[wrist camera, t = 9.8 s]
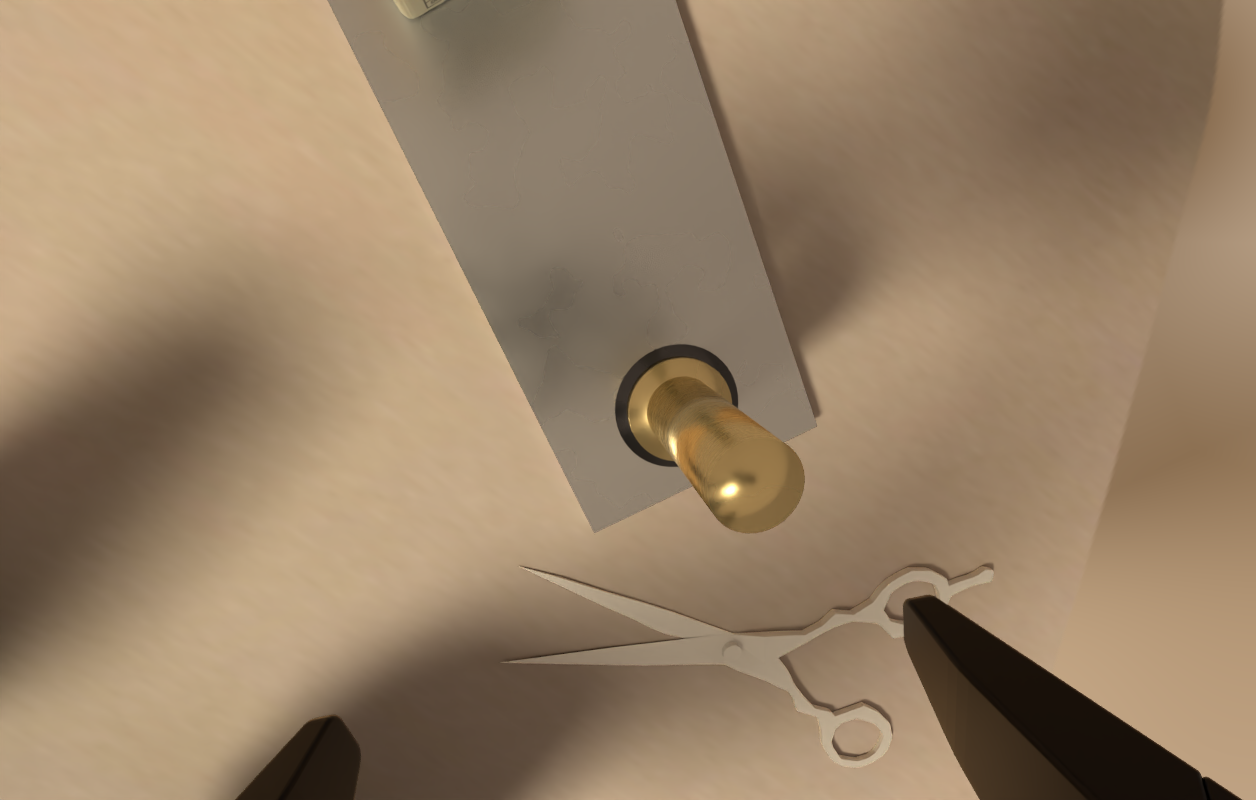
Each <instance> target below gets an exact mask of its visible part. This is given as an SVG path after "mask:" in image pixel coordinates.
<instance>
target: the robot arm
mask: <svg viewBox="0 0 1256 800" xmlns="http://www.w3.org/2000/svg"><path fill="white" fill-rule="evenodd" d="M903 625H904V641H905V645H906V648H907V651H908V654H909V656H910V658H911V660H912V663H913V665H914V667H915V669H916V671H917V674H918V676H919V678H920V680H921V683H922V685H923V687H924V689H925V691H926V694H927V696H928V698H929V700H930V703H931V705H932V707H933V709H934V711H935V714H936V716H937V718H938V720H939V723H940V725H941V727H942V729H943V731H944V734H945V736H946V738H947V740H948V742H949V744H950V746H951V749H952V751H953V753H954V755H955V757H956V759H957V760H958V762H959V764H960V766H961V768H962V770H963V771H964V773H965V775H966V777H967V778H968V780H969V782H970V784H971V785H972V787H973V789H974V791H975V792H976V794H977V796H978V798H979V799H980V800H1242V799H1240V798H1239V797H1237V796H1236V795H1234V794H1233V793H1231V792H1230V791H1228V790H1227V789H1225V788H1224V787H1222V786H1221V785H1219V784H1218V783H1216V782H1215V781H1213V780H1212V779H1210V778H1209V777H1203V778H1202V776H1201V774H1200V772H1199V771H1198V770H1196V769H1195V768H1193V767H1192V766H1190V765H1189V764H1187V763H1186V762H1184V761H1183V760H1181V759H1180V758H1178V757H1177V756H1175V755H1174V754H1172V753H1171V752H1169V751H1167V750H1166V749H1165V748H1163V747H1162V746H1160V745H1159V744H1157V743H1156V742H1154V741H1153V740H1151V739H1149V738H1148V737H1147V736H1145V735H1143V734H1142V733H1140V732H1139V731H1137V730H1136V729H1134V728H1133V727H1131V726H1130V725H1128V724H1127V723H1125V722H1123V721H1122V720H1121V719H1119V718H1118V717H1116V716H1115V715H1113V714H1112V713H1110V712H1109V711H1107V710H1106V709H1104V708H1103V707H1101V706H1100V705H1098V704H1097V703H1095V702H1094V701H1092V700H1091V699H1089V698H1088V697H1086V696H1085V695H1083V694H1082V693H1080V692H1079V691H1077V690H1076V689H1074V688H1073V687H1071V686H1069V685H1068V684H1066V683H1065V682H1064V681H1062V680H1061V679H1059V678H1058V677H1056V676H1055V675H1053V674H1052V673H1050V672H1049V671H1047V670H1046V669H1044V668H1042V667H1041V666H1039V665H1038V664H1036V663H1035V662H1033V661H1032V660H1030V659H1029V658H1027V657H1026V656H1024V655H1023V654H1021V653H1020V652H1018V651H1017V650H1015V649H1014V648H1012V647H1011V646H1009V645H1008V644H1006V643H1005V642H1003V641H1002V640H1000V639H999V638H997V637H996V636H994V635H993V634H991V633H990V632H988V631H987V630H985V629H984V628H982V627H981V626H979V625H978V624H976V623H975V622H973V621H972V620H970V619H969V618H967V617H966V616H964V615H963V614H961V613H960V612H958V611H957V610H955V609H954V608H952V607H951V606H949V605H948V604H946V603H944V602H943V601H941V600H940V599H938V598H937V597H935V596H932V595H924V596H919V597H914V598H909V599H906V600H905V602H904V604H903ZM360 760H361V753H360V748H359V745H358V743H357V741H356V740H355V738H354V737H353V735H352V734H351V732H350V731H349V729H348V728H347V726H346V725H345V723H344V722H343V720H342V719H341V718H340V717H339V716H337V715H328V716H323V717H318V718H314V719H312V720H310V721H308V722H307V723H306V724H305V725H304V726H303V727H302V728H301V729H300V730H299V731H298V732H297V733H296V734H295V736H294V737H293V738H292V739H291V740H290V741H289V742H288V743H287V744H286V745H285V746H284V747H283V749H282V750H281V751H280V752H279V753H278V754H277V755H276V756H275V757H274V758H273V759H272V760H271V762H270V763H269V764H268V765H267V766H266V767H265V768H264V769H263V770H262V771H261V772H260V773H259V775H258V776H257V777H256V778H255V779H254V780H253V781H252V782H251V783H250V784H249V785H248V786H247V787H246V789H245V790H244V791H243V792H242V793H241V794H240V795H239V796H238V797H237V798H236V799H235V800H354V797H355V791H356V785H357V779H358V773H359V767H360Z"/></svg>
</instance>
